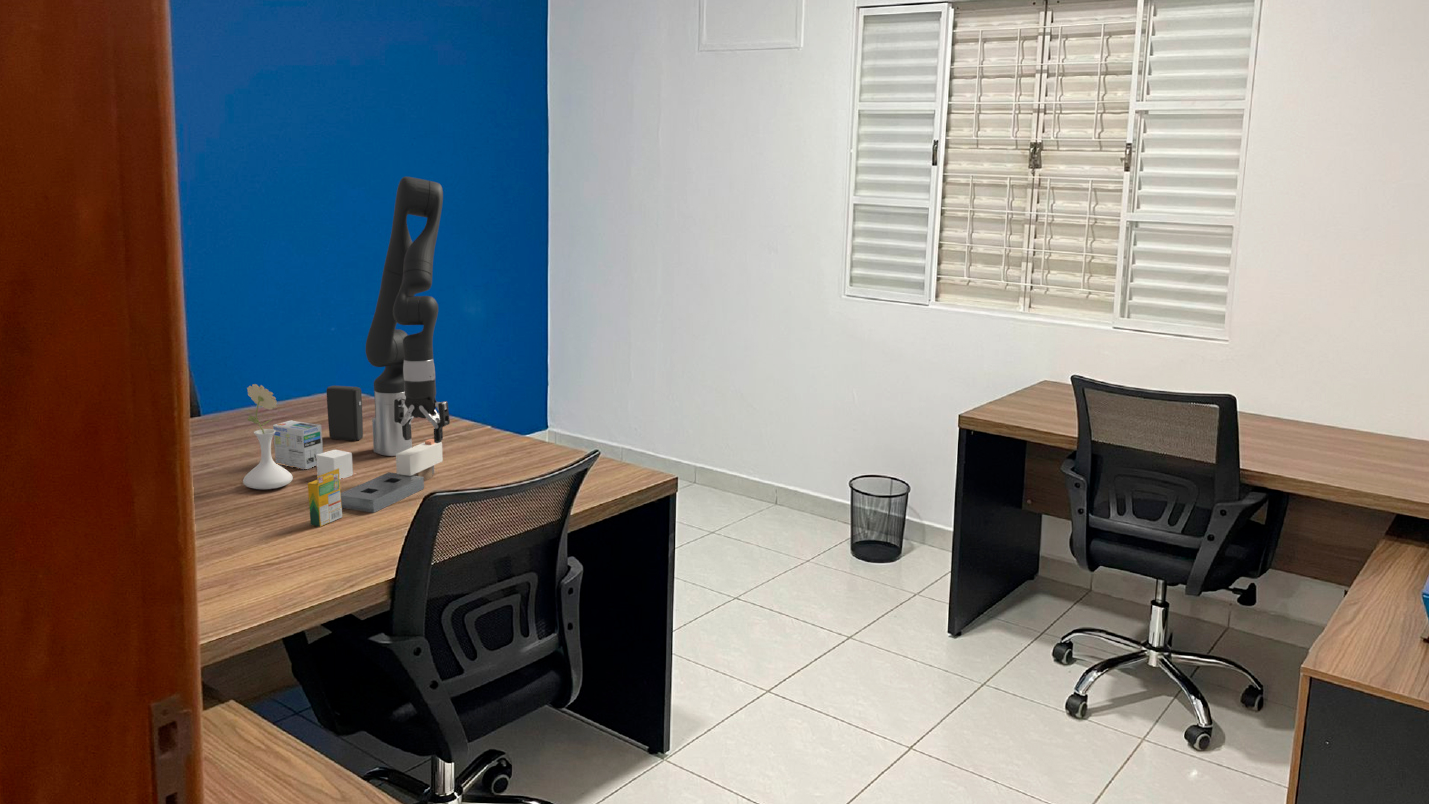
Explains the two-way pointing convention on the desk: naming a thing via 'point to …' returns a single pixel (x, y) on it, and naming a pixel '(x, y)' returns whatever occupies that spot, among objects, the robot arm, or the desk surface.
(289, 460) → the light bulb box
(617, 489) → the desk surface
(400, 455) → the white plug-in block
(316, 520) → the crayon box
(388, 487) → the mounting plate
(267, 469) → the flower in vase
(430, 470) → the walnut stand
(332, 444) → the desk surface
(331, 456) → the white cube
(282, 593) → the desk surface
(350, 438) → the black upright block
